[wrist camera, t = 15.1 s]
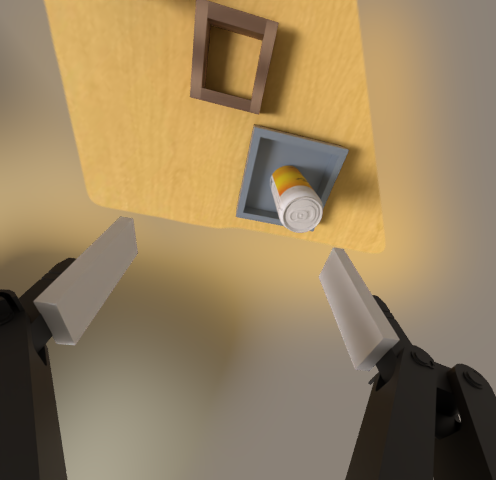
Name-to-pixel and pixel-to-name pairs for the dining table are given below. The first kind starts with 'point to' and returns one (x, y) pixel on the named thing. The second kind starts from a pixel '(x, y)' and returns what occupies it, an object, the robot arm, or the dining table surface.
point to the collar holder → (237, 23)
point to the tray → (282, 154)
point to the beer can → (295, 200)
